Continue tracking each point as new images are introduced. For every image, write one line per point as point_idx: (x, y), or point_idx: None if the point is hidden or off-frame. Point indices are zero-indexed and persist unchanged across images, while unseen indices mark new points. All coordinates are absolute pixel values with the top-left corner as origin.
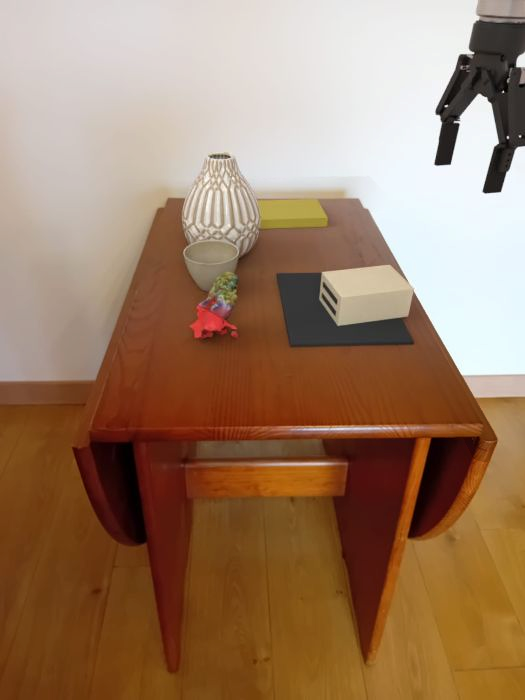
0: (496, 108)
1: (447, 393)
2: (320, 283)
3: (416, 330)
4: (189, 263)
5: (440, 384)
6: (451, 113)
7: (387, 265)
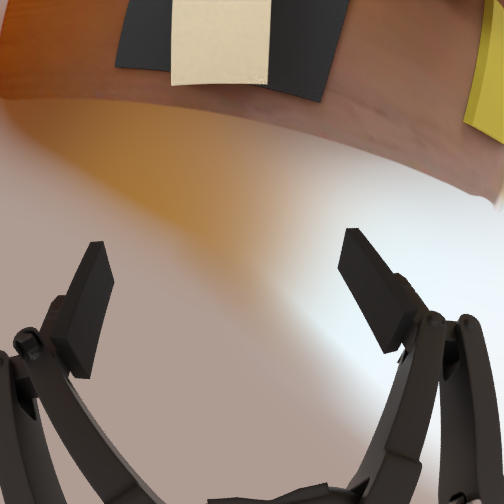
0: (91, 464)
1: (27, 79)
2: (310, 1)
3: (146, 84)
4: None
5: (40, 75)
6: (411, 353)
7: (264, 78)
